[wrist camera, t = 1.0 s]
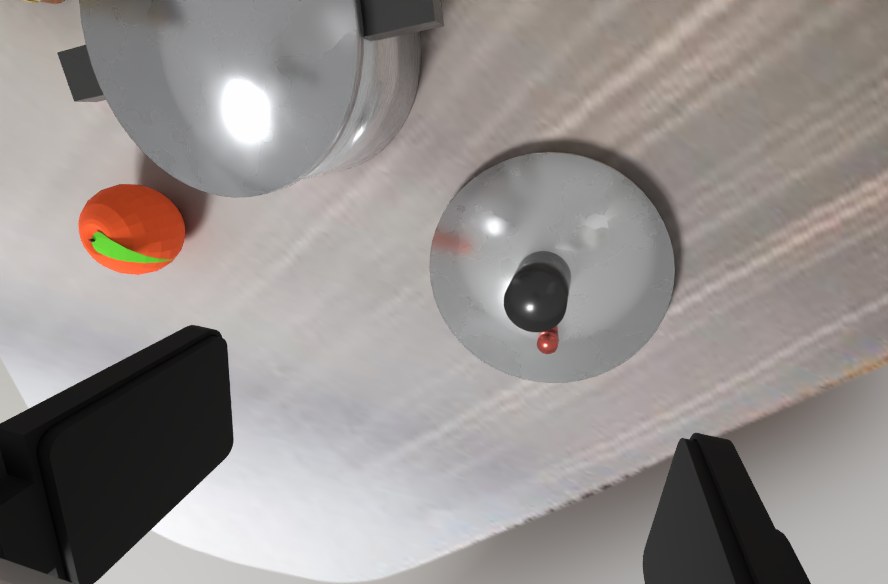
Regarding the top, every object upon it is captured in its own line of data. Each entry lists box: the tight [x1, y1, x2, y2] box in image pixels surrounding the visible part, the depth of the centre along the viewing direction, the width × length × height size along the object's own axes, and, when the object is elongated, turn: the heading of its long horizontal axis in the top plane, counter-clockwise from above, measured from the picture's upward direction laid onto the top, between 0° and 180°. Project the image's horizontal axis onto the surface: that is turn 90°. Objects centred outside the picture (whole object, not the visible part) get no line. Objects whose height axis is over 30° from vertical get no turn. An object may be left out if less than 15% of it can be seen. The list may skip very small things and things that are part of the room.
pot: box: [58, 0, 444, 197], centre depth 28 cm, size 22×16×10 cm
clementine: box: [79, 184, 185, 275], centre depth 37 cm, size 8×7×7 cm
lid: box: [430, 152, 675, 383], centre depth 31 cm, size 16×16×6 cm
